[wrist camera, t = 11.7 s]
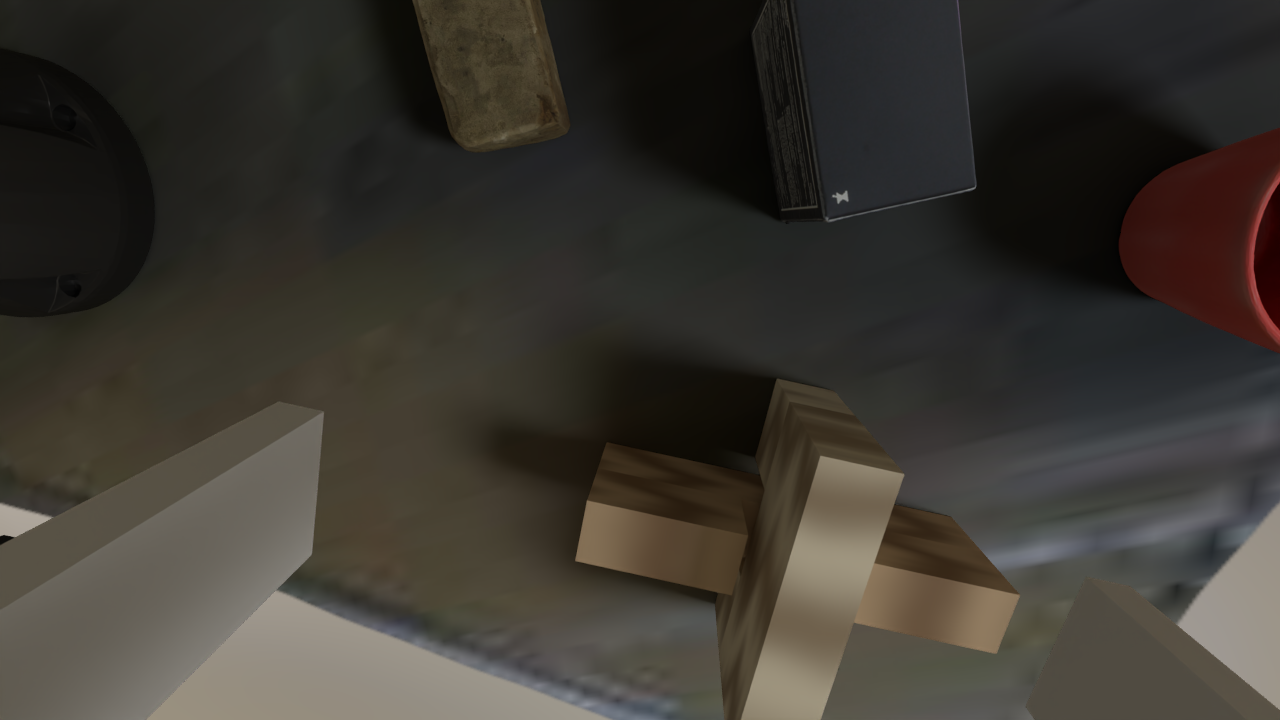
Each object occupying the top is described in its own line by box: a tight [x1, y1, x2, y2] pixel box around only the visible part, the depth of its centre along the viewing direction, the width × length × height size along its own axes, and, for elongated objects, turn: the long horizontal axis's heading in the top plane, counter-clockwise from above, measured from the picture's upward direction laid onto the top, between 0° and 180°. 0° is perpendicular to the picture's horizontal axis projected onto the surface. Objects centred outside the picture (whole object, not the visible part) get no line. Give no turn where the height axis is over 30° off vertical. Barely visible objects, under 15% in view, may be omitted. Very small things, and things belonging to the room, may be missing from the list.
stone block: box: [412, 0, 571, 152], centre depth 31 cm, size 6×12×5 cm, turn 14°
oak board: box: [575, 442, 1020, 654], centre depth 35 cm, size 22×4×8 cm, turn 78°
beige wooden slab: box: [715, 379, 904, 720], centre depth 33 cm, size 16×4×12 cm, turn 168°
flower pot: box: [1119, 128, 1280, 353], centre depth 28 cm, size 11×11×10 cm
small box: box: [750, 0, 977, 224], centre depth 28 cm, size 11×6×10 cm, turn 13°
